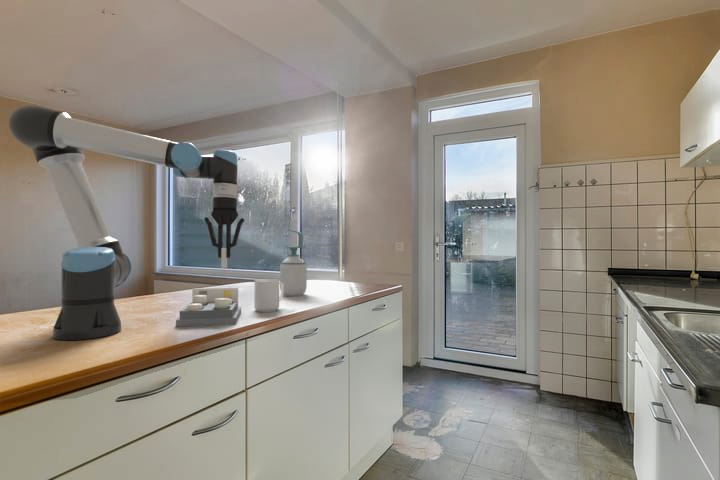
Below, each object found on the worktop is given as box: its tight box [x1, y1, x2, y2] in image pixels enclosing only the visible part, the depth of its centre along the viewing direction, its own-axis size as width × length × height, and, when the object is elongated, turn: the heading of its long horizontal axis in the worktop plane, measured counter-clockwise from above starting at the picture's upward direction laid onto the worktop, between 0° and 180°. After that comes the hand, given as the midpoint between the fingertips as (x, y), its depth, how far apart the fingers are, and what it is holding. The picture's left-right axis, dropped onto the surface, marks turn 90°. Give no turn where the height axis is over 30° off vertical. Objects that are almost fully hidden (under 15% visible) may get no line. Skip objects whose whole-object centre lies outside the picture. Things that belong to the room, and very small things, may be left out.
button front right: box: [215, 298, 229, 309], centre depth 117 cm, size 4×4×3 cm
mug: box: [253, 278, 284, 313], centre depth 139 cm, size 12×9×11 cm
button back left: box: [193, 295, 207, 306], centre depth 124 cm, size 4×4×3 cm
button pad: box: [175, 287, 242, 327], centre depth 122 cm, size 17×18×9 cm
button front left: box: [186, 303, 202, 310], centre depth 116 cm, size 4×4×3 cm
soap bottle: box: [279, 228, 308, 297], centre depth 176 cm, size 12×12×31 cm
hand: (224, 267), depth 125 cm, fingers closed
